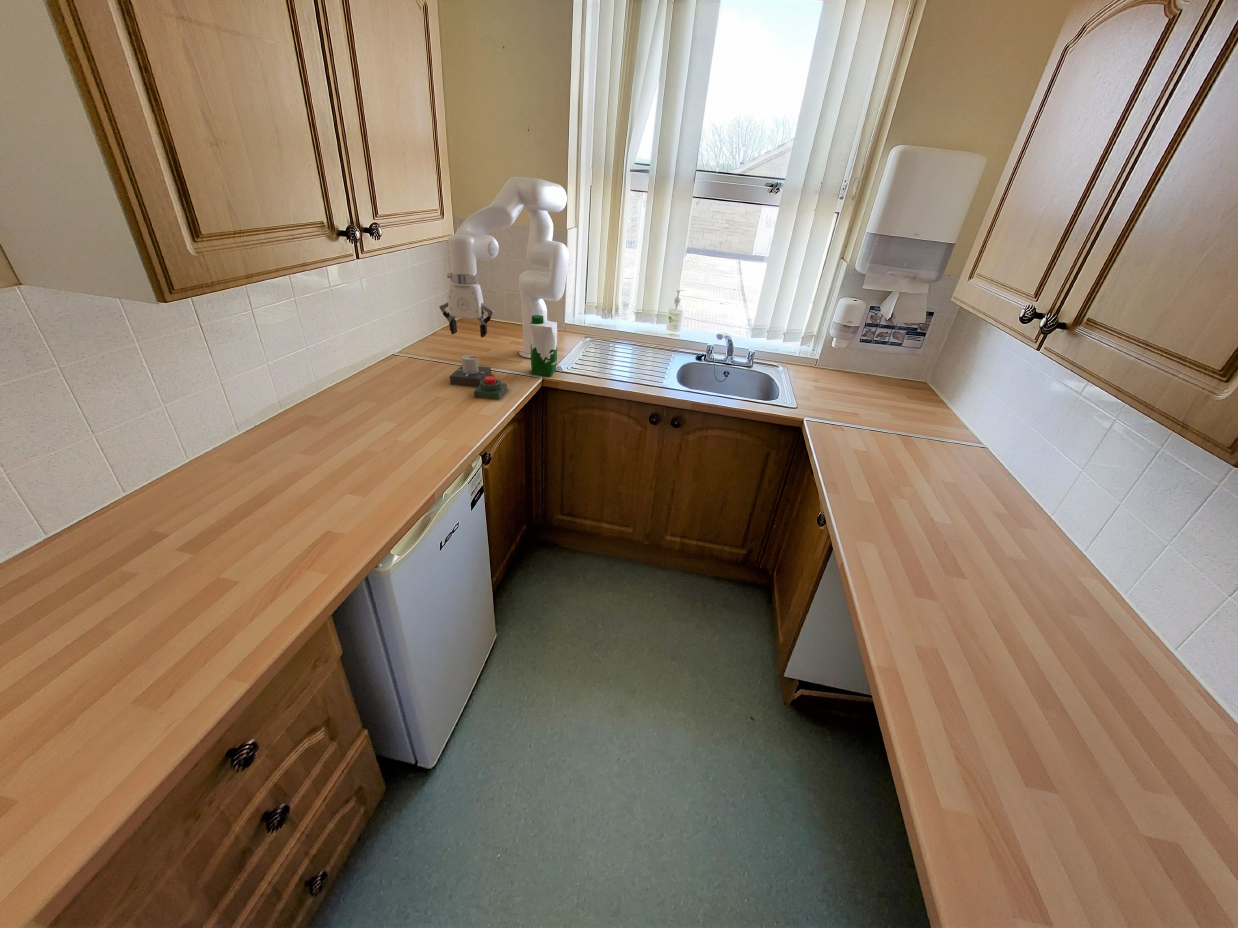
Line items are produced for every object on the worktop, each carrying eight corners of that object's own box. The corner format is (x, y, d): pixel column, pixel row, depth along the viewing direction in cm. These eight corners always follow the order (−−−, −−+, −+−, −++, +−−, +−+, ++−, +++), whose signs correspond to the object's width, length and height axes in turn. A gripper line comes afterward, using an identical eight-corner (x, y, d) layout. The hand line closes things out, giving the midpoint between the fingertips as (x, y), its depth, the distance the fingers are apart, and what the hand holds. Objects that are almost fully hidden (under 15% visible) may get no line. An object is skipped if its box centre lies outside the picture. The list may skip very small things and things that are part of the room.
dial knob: (460, 373, 161) (459, 357, 159) (466, 368, 166) (464, 353, 163) (475, 374, 161) (474, 359, 159) (480, 369, 166) (479, 354, 163)
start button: (486, 380, 156) (486, 375, 155) (497, 381, 156) (497, 376, 155) (483, 384, 153) (482, 379, 152) (494, 385, 153) (494, 380, 152)
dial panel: (463, 372, 170) (462, 364, 169) (491, 375, 170) (490, 366, 169) (450, 384, 160) (449, 375, 158) (480, 387, 160) (479, 378, 158)
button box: (483, 387, 160) (482, 376, 158) (507, 389, 160) (506, 378, 158) (474, 397, 152) (473, 385, 150) (499, 400, 152) (498, 388, 150)
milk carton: (535, 367, 181) (534, 313, 171) (559, 370, 180) (559, 315, 170) (528, 375, 173) (526, 318, 163) (552, 378, 172) (552, 321, 162)
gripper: (431, 278, 145) (437, 335, 153) (488, 284, 144) (491, 340, 153) (442, 274, 151) (447, 329, 160) (496, 280, 151) (498, 334, 159)
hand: (468, 334), depth 156 cm, fingers open, 9 cm apart
